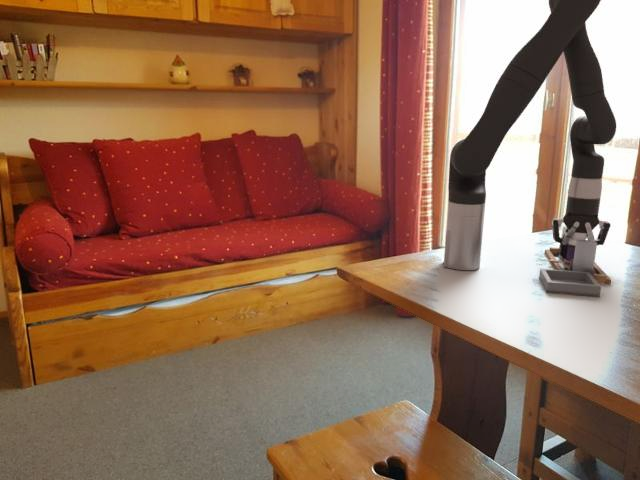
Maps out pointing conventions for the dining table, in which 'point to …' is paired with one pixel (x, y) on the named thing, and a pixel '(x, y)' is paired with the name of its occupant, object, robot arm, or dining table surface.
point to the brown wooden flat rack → (599, 275)
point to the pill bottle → (572, 247)
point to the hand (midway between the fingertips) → (575, 258)
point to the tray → (569, 282)
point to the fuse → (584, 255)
